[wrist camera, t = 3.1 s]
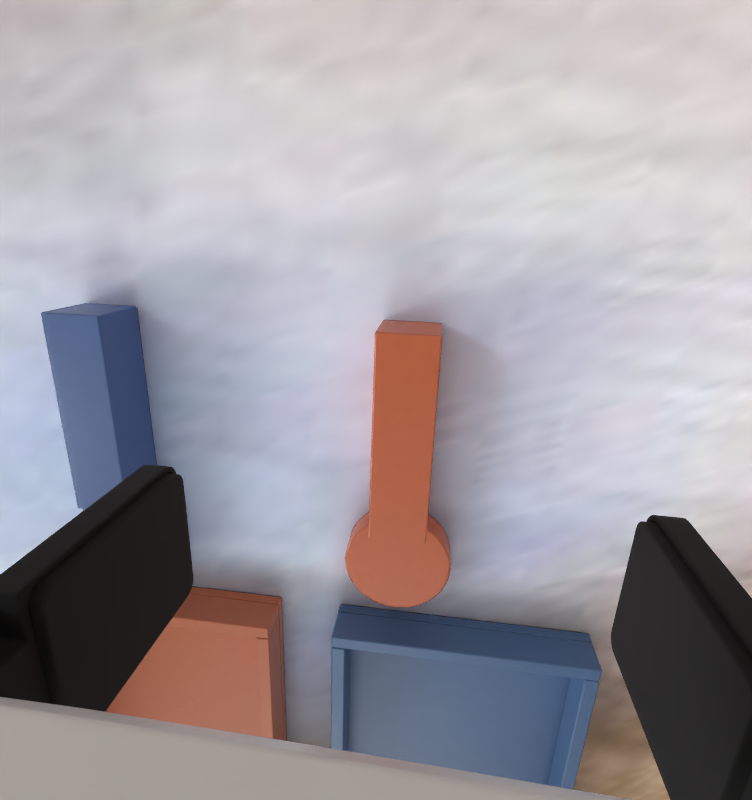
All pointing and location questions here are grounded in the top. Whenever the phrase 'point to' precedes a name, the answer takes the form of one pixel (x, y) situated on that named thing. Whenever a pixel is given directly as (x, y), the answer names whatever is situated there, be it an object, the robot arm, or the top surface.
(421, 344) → the terracotta spoon
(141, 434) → the blue spoon
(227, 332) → the top surface
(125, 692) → the terracotta tray
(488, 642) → the blue tray
